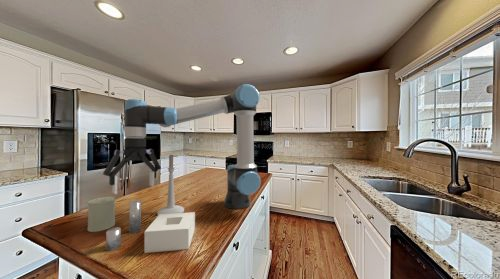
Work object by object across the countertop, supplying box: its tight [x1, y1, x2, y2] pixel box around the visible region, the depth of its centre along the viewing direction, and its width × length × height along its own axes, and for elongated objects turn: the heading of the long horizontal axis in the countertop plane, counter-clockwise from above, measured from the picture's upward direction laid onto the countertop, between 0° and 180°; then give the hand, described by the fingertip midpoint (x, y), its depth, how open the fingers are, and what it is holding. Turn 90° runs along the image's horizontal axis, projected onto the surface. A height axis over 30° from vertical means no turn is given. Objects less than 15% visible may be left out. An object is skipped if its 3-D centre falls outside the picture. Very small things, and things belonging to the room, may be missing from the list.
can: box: [87, 196, 116, 233], centre depth 77 cm, size 9×9×12 cm
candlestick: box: [156, 154, 185, 216], centre depth 92 cm, size 13×13×30 cm
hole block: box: [144, 211, 196, 254], centre depth 67 cm, size 14×14×7 cm
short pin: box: [105, 226, 122, 252], centre depth 62 cm, size 4×4×6 cm
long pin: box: [128, 199, 142, 234], centre depth 73 cm, size 4×4×12 cm
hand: (134, 189), depth 73 cm, fingers open, 13 cm apart
